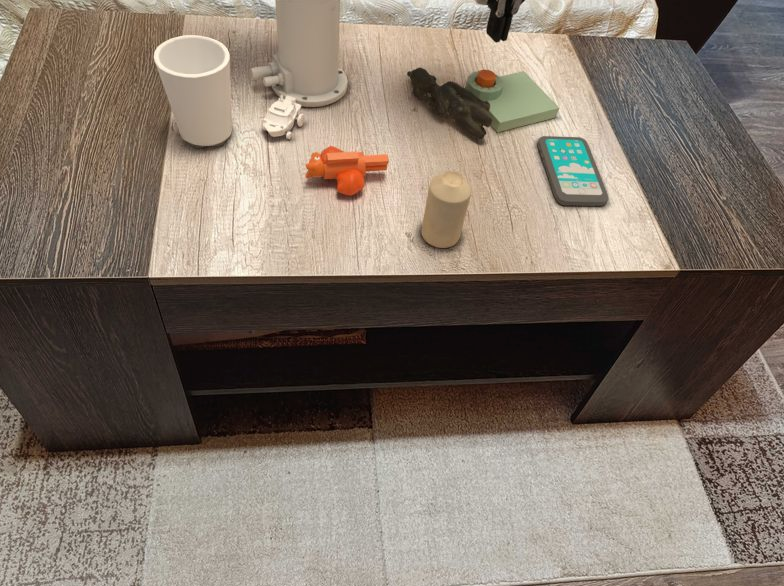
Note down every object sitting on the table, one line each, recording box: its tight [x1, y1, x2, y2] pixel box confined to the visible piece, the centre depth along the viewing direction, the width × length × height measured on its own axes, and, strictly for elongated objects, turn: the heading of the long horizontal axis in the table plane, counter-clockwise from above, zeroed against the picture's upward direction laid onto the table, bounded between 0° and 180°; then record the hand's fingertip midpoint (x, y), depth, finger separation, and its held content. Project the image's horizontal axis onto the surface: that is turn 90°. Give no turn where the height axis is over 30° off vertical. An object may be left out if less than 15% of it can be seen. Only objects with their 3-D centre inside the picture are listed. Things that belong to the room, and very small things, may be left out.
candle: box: [421, 170, 473, 249], centre depth 83 cm, size 6×6×10 cm
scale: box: [464, 70, 560, 133], centre depth 104 cm, size 13×12×4 cm
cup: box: [153, 34, 233, 149], centre depth 88 cm, size 10×10×13 cm
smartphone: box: [537, 135, 609, 207], centre depth 97 cm, size 9×1×15 cm
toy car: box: [261, 95, 305, 140], centre depth 94 cm, size 5×8×4 cm, turn 160°
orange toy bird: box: [304, 145, 390, 197], centre depth 89 cm, size 5×8×12 cm
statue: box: [406, 66, 492, 140], centre depth 100 cm, size 6×6×20 cm
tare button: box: [476, 69, 497, 88], centre depth 102 cm, size 3×3×2 cm
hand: (496, 36), depth 96 cm, fingers closed
